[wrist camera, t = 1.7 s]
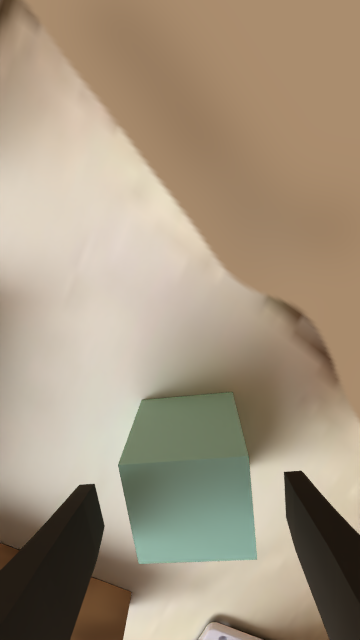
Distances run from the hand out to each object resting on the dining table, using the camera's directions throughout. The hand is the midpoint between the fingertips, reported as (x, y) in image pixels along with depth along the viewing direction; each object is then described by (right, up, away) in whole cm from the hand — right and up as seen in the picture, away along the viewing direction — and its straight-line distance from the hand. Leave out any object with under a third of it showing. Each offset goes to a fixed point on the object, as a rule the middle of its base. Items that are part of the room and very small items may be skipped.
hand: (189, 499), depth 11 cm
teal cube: (0, +1, +4) cm, 4 cm away
